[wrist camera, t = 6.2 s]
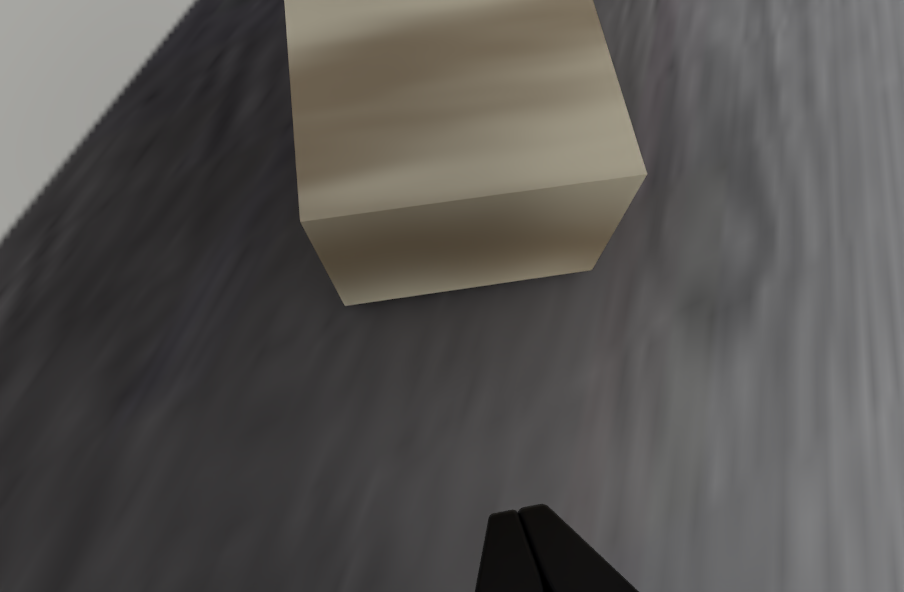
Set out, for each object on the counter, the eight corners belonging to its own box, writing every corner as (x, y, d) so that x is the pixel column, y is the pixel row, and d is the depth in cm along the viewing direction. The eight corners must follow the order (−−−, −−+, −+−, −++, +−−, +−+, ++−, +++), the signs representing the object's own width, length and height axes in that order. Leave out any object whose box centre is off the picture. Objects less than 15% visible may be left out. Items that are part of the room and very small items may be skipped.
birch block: (647, 174, 12) (544, -154, 15) (300, 221, 11) (275, -126, 15) (591, 269, 16) (523, 3, 20) (344, 305, 16) (318, 27, 20)
